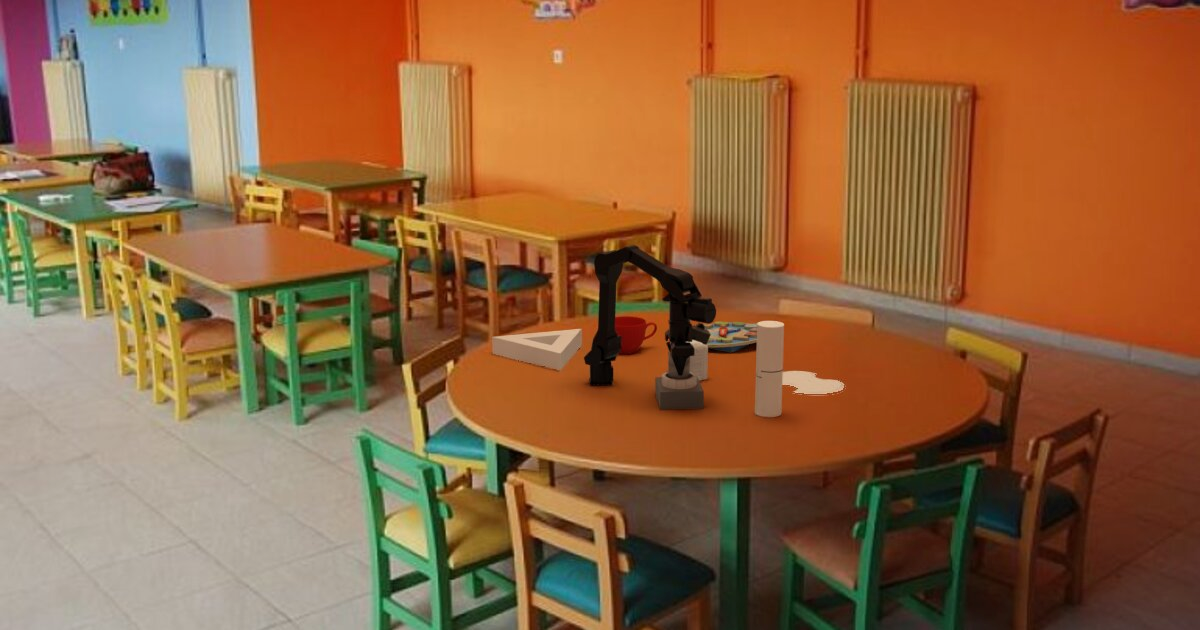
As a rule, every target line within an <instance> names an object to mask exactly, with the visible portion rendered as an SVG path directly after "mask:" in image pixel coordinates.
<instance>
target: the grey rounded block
mask: <svg viewBox="0 0 1200 630" xmlns="http://www.w3.org/2000/svg"><path fill="white" fill-rule="evenodd" d="M667 358H668V359H667V363H668V364H667V365H668V370H667V372H668V378H670V379H676V380H683V379H689V378H690V357H689V358H687V360H686V364H685V367H684V371H683V375H682V376H679V375H678V373H677V370H676V367H675V365H674V362H673V359H672V357H671V354H670V352H669V351H668V357H667Z"/></svg>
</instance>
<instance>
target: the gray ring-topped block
mask: <svg viewBox="0 0 1200 630" xmlns="http://www.w3.org/2000/svg"><path fill="white" fill-rule="evenodd" d="M654 380H655V382H654V383H655V385H654V387H655V388H654V394H655V397H656V401H657V404H658V406H659V409H660V410H691V409H692V410H693V409H695V410H696V409H697V410H698V409H704V403H705V402H704V399H705V396H704V395H705V393H704V392H705V391H704V389H703V388H704V387H702V384H701V383H700V381H699V379H698V377H697V376H696V374H695V373H692V372H690V378H689V379H683V380H676V379H670V378H668V371H666V372H665V371H664V372H663V373H661V376H656V377H655V379H654Z"/></svg>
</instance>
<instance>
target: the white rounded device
mask: <svg viewBox="0 0 1200 630" xmlns="http://www.w3.org/2000/svg"><path fill="white" fill-rule="evenodd" d="M690 343H691V344H692V345H693V347H694V349H695V354H694V356H690V372H692V373H695V374H696V376H697V377H698V379H699V382H700V381H705V380H706V379H708V363H709V361H708V360H709V358H708V356H709V349H708V346H707V345H705V344H702V343H701V342H698V341H695V340H692V342H690Z"/></svg>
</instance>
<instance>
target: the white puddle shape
mask: <svg viewBox="0 0 1200 630" xmlns="http://www.w3.org/2000/svg"><path fill="white" fill-rule="evenodd" d="M815 374H816V375H817V373H815V372H811V371H806V370H805V371H804V370H802V371H801V370H788V371H783V377H782V385H790V386H789V387H791V386H794V387H796V388H798V389H796V388H795V390H794V391H793V392H795V393H804V394H827V393H833V392H838V391H841V390H843V388H844V385H845V384H844V383H843V382H842V381H841V380H839V381H838V379H825V378H819V377H816V375H815ZM840 381H841V382H840ZM794 387H793V388H794ZM795 393H794V394H795Z"/></svg>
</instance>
